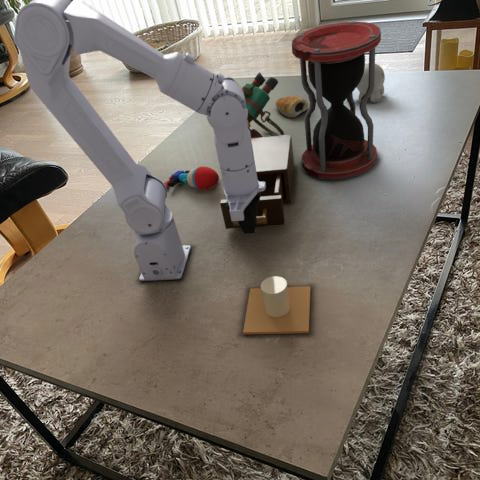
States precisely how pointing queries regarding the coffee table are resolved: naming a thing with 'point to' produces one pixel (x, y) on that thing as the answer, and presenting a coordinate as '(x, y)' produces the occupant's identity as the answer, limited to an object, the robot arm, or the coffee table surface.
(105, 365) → the coffee table surface
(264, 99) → the binoculars
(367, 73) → the round bodied animal figurine
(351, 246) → the coffee table surface
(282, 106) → the pastry
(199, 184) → the toy figure
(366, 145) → the hourglass
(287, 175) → the cabinet
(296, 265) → the coffee table surface
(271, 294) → the cream cylinder
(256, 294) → the cork mat
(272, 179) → the drawer
